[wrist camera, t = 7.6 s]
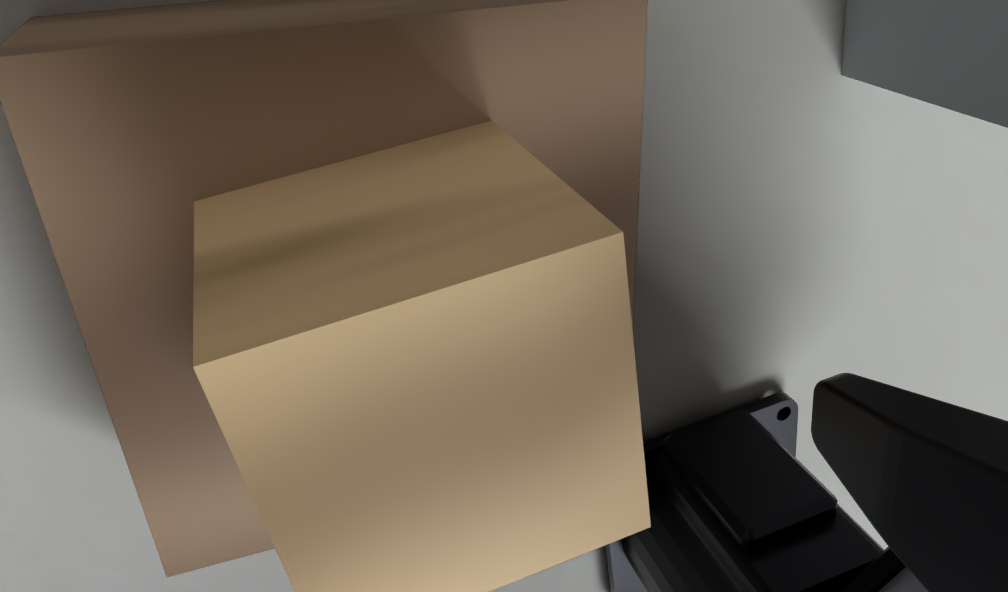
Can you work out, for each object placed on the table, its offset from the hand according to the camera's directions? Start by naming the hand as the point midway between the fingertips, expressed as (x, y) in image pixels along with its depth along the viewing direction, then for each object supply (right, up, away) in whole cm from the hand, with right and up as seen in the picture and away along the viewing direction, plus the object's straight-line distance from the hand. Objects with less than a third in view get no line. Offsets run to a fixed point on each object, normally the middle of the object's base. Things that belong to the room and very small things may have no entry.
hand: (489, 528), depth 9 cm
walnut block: (-3, +4, +9) cm, 10 cm away
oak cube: (-2, +3, +5) cm, 6 cm away
